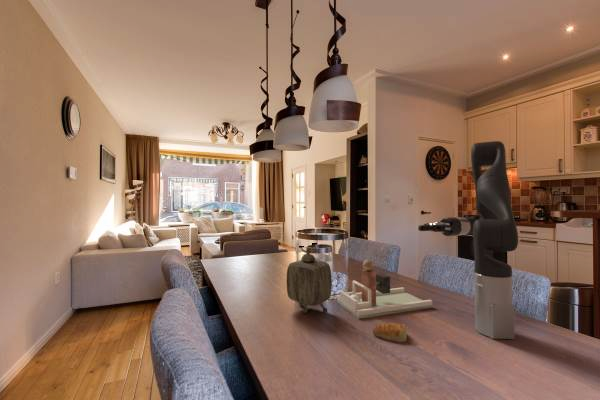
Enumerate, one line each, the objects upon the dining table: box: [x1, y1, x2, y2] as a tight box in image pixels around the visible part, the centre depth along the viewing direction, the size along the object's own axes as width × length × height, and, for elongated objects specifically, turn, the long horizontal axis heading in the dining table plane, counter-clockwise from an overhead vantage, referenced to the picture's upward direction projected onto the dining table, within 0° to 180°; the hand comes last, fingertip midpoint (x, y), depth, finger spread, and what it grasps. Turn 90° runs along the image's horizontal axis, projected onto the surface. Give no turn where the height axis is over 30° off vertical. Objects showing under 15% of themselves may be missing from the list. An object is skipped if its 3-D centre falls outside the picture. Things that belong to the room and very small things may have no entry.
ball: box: [351, 295, 360, 303], centre depth 105 cm, size 4×4×4 cm
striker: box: [361, 259, 391, 305], centre depth 107 cm, size 10×5×16 cm, turn 107°
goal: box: [338, 280, 372, 313], centre depth 105 cm, size 7×13×8 cm, turn 17°
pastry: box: [372, 322, 407, 343], centre depth 84 cm, size 9×7×4 cm
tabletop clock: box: [286, 244, 333, 314], centre depth 103 cm, size 14×9×25 cm, turn 51°
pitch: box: [336, 286, 433, 320], centre depth 108 cm, size 30×17×2 cm, turn 107°
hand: (419, 228), depth 113 cm, fingers closed
